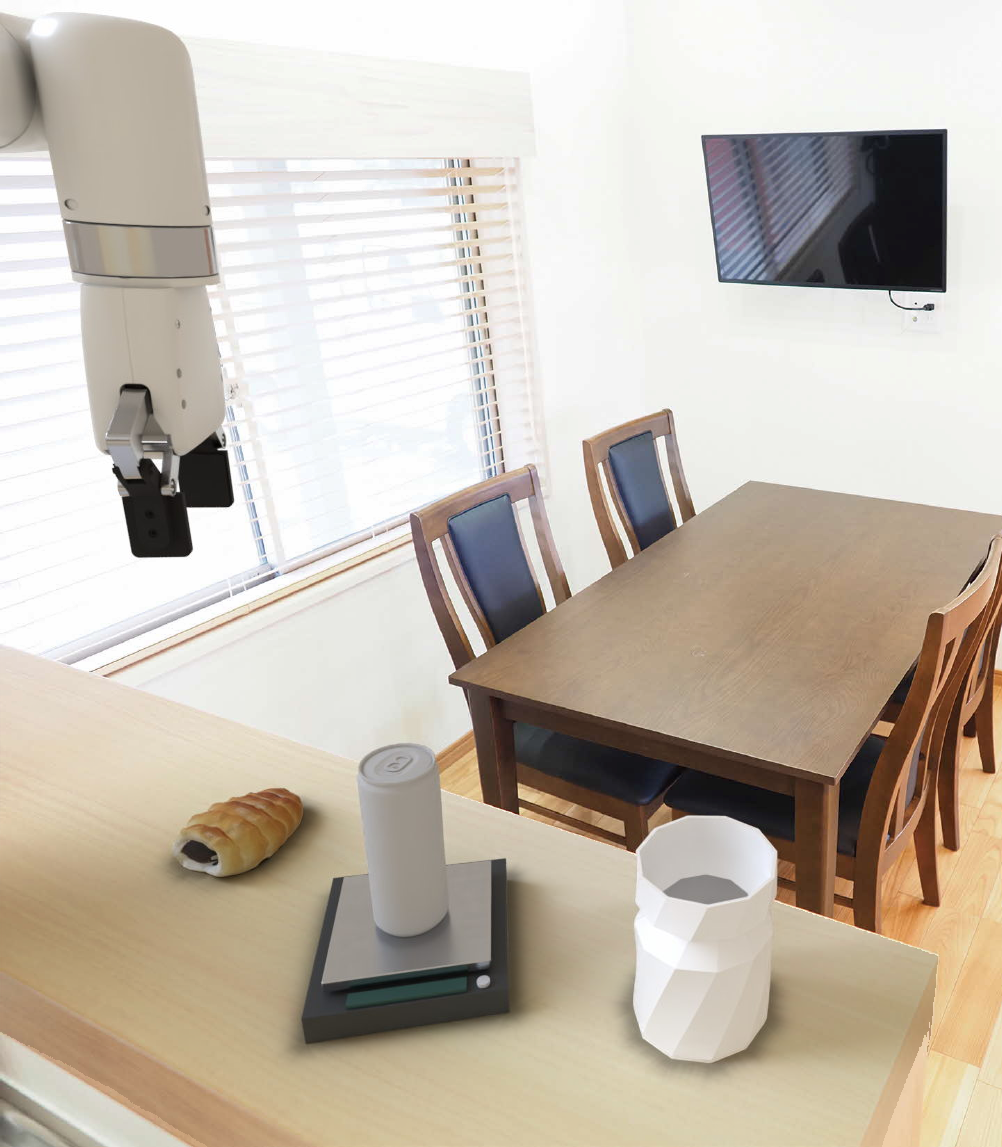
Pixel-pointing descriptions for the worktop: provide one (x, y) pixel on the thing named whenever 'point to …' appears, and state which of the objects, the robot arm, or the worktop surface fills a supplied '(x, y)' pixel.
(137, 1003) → the worktop surface
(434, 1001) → the scale
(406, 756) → the beverage can
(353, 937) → the scale pan
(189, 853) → the pastry
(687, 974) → the vase
